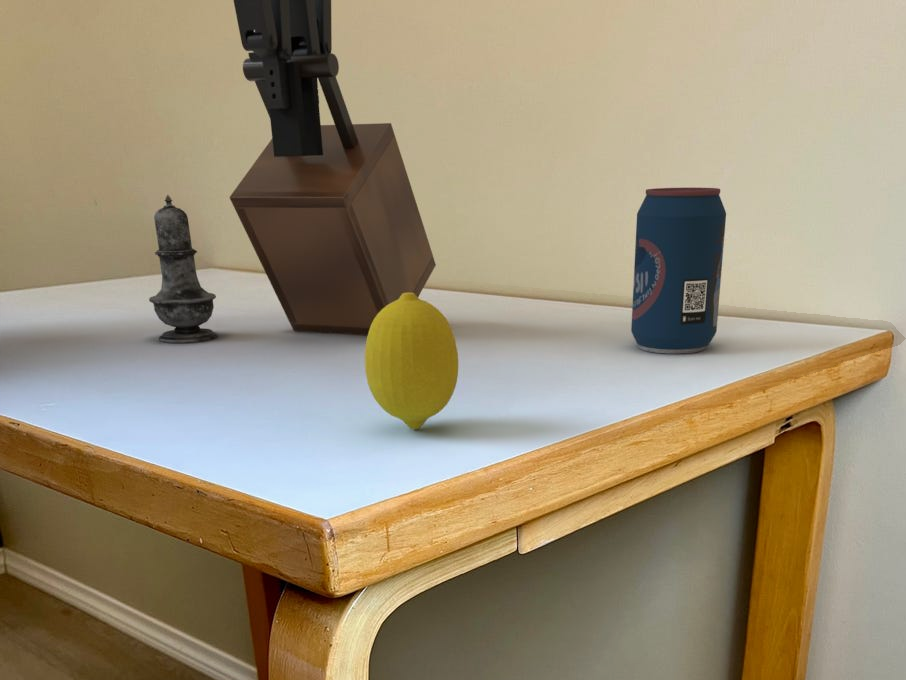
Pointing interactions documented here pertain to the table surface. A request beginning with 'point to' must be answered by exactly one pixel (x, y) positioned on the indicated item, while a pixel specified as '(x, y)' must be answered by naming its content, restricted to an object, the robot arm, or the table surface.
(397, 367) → the lemon
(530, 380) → the table surface
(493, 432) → the table surface
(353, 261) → the wooden handled box
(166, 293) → the salt shaker
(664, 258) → the soda can
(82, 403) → the table surface
